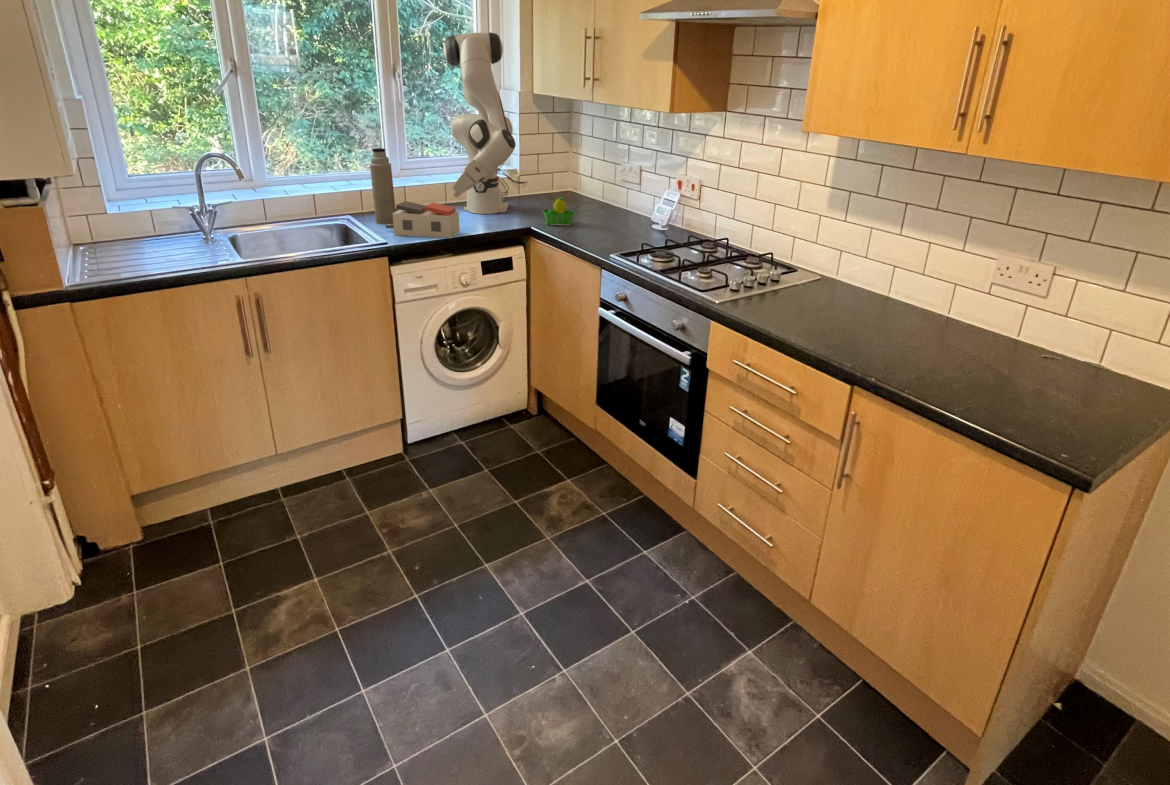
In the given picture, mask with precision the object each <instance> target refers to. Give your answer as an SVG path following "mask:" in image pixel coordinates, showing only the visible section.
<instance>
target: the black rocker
mask: <svg viewBox="0 0 1170 785" xmlns="http://www.w3.org/2000/svg"><path fill="white" fill-rule="evenodd" d="M425 206H426V205H424V204H421V203H416V202H410V201H407V200H403V201H402V202H399V203H398V204H395V210H404V211H406V212H407V213H410V212H413V213H417V214H420V213H422V212H424V211H426V210H425Z"/></svg>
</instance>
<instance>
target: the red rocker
mask: <svg viewBox="0 0 1170 785" xmlns="http://www.w3.org/2000/svg"><path fill="white" fill-rule="evenodd" d="M425 210H426V211H430V212H435V214H443V215H447V216H449V215H450V214H452V213H453V212H455V211H457V210H456V207H455V206H450V205H447V204H441V203H437V202H433V201H432V202H431V203H429V204H427V205H425Z"/></svg>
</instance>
